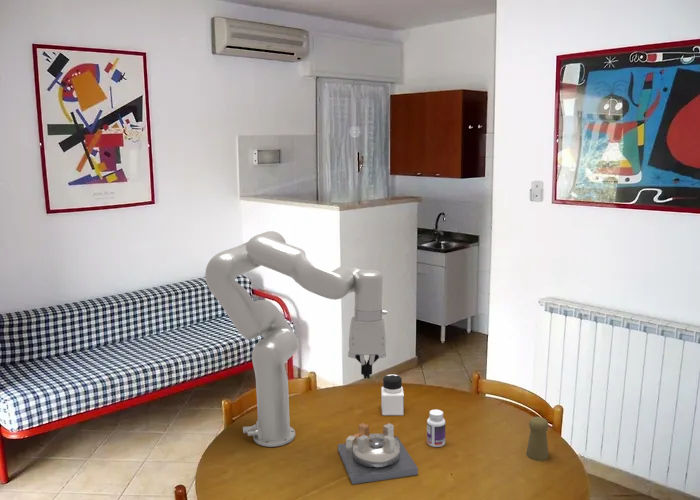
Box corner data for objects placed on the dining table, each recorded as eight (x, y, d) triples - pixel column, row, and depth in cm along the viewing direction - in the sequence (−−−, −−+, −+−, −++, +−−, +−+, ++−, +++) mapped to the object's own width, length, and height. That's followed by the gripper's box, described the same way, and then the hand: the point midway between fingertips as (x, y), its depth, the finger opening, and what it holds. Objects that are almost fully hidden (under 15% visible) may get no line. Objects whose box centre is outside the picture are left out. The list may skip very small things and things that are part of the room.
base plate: (352, 484, 158) (352, 464, 157) (338, 450, 175) (337, 432, 174) (417, 474, 162) (417, 455, 161) (397, 442, 179) (397, 425, 178)
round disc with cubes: (409, 454, 168) (409, 431, 166) (376, 472, 159) (376, 448, 158) (371, 436, 178) (370, 414, 177) (338, 451, 170) (337, 428, 169)
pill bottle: (447, 440, 180) (447, 410, 178) (442, 449, 175) (442, 417, 173) (430, 437, 182) (430, 407, 180) (424, 445, 177) (424, 414, 175)
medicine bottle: (404, 415, 197) (404, 380, 194) (382, 415, 197) (381, 380, 195) (402, 406, 204) (402, 372, 201) (381, 406, 204) (381, 372, 202)
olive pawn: (548, 451, 172) (550, 415, 171) (548, 462, 167) (550, 425, 165) (526, 448, 174) (528, 412, 172) (525, 458, 169) (527, 422, 167)
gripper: (393, 310, 171) (391, 371, 175) (340, 310, 170) (339, 371, 174) (396, 318, 164) (394, 382, 167) (341, 318, 163) (340, 382, 167)
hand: (366, 376), depth 171 cm, fingers closed
